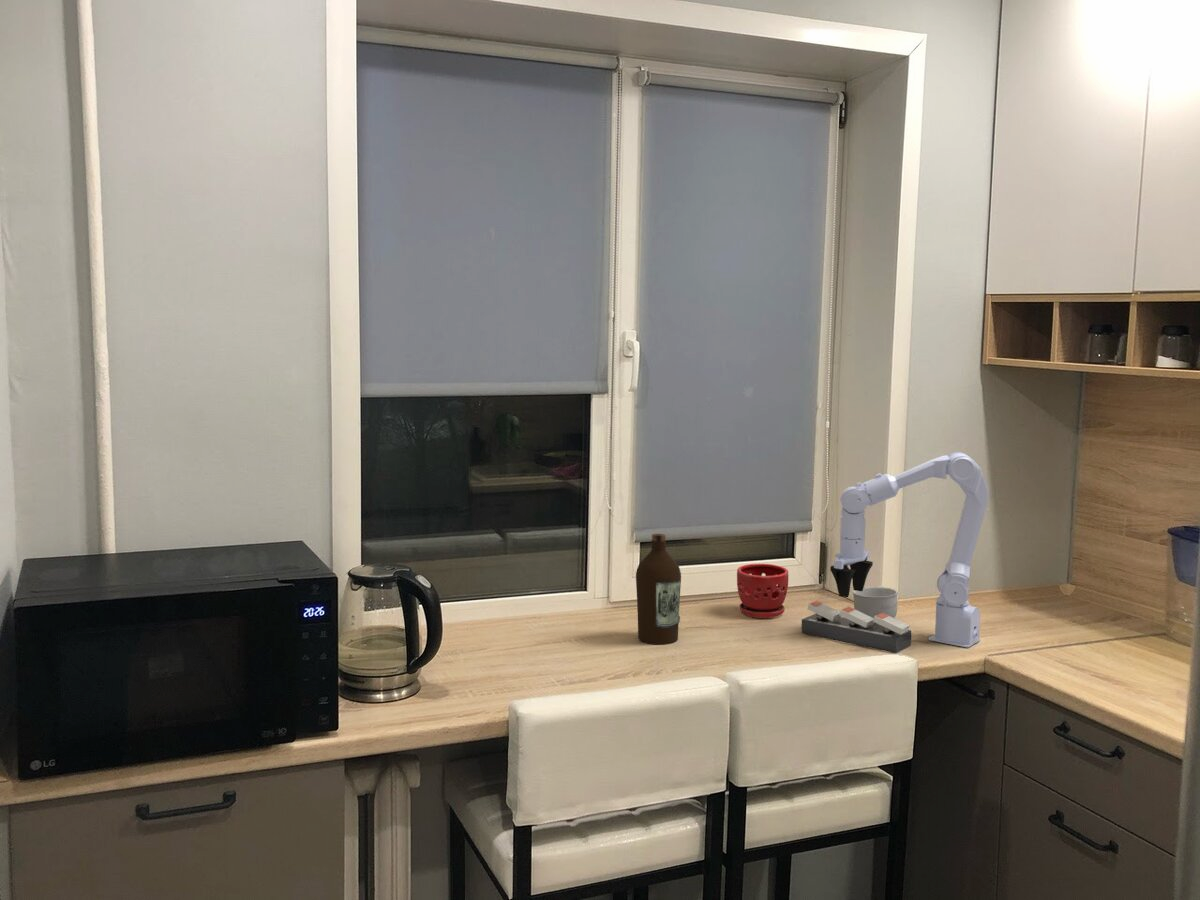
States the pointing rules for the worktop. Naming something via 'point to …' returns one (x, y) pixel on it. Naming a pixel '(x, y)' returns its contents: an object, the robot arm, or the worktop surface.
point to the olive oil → (658, 595)
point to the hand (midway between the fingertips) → (851, 593)
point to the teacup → (876, 601)
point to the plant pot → (762, 589)
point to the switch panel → (856, 633)
